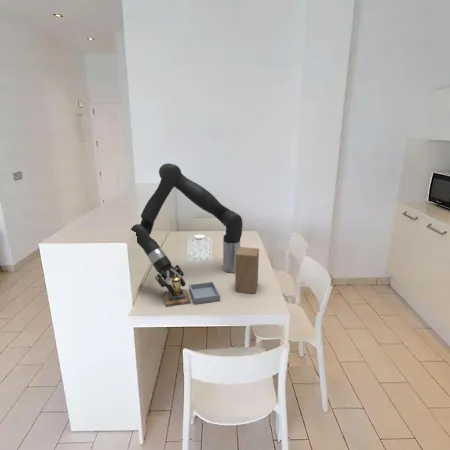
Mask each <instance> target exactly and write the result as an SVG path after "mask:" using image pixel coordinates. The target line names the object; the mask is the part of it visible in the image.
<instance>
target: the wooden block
mask: <svg viewBox="0 0 450 450" xmlns="http://www.w3.org/2000/svg"><path fill="white" fill-rule="evenodd" d="M259 256H260V248H258V247H244V246H243V247H242V246H240V247H239V249H238V251H237V253H236V272H235V273H234V275H235V279H234V280H235V281H234V290H235V292H237V293H244V294H254V295H255V294H256V293H257V289H258V284H259V280H258V279H259V261H260V260H259V258H260V257H259Z"/></svg>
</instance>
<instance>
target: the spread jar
mask: <svg viewBox="0 0 450 450" xmlns="http://www.w3.org/2000/svg"><path fill="white" fill-rule="evenodd" d="M193 237H194V238H193V240H194V239H196V240H202V239H206V235H205V234H202V233H201V234H199V233H198V234H195V235H194V236H193Z"/></svg>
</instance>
